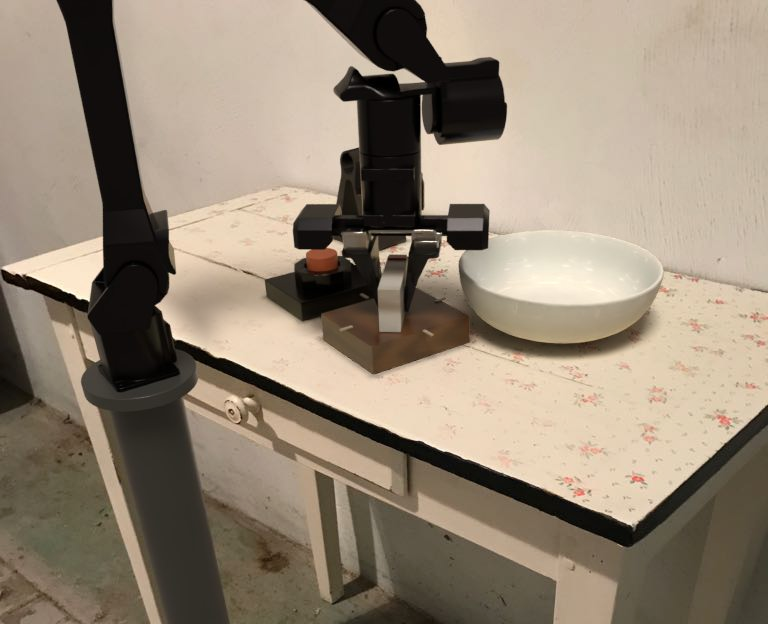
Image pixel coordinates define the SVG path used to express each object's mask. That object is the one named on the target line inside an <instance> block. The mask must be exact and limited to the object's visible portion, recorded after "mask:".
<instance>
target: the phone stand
mask: <svg viewBox="0 0 768 624" xmlns="http://www.w3.org/2000/svg"><path fill="white" fill-rule="evenodd" d="M355 162H360V155H359V146H358V147H355V148H351V149H347V150H346V149H345V150H344V151H342V152H341V154H340V156H339V165H340V180H339V184H338V191H337V198H336V203H335V204H340V207H341V210H342V215H362V196H358V195H356V194H355V191H354V174H355ZM333 240H335V241H339V242H341V243H343V240H342V236H333ZM406 241H407V236H378V247H379V251H381V250H384V249H387V248H389V247H390V248H391V247H392V246H396V245H398V244H401V243H404V242H406Z"/></svg>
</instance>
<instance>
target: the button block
mask: <svg viewBox="0 0 768 624" xmlns="http://www.w3.org/2000/svg"><path fill="white" fill-rule="evenodd" d="M337 258H338V267H337V268H336V269H333V270H329V271H311V270H308V269H307V262H306V257H303V258H301V259H299V260H298V261H296V262H295V263H294V267H293V271H292V272H288V273H284V274H280V275H276V276H273V277H269V278H265V279H264V287H265V295H266V296H265V297H266V298H267V299H268V300H270V301H271V302H273V303H275V304H276V305H278V306H279V307H281V308H282V309H284V310H285V311H286V312H288V313H289V314H290V315H293V316H294V317H295V318H297V319H298V320H300V321H301V322H306V321H310V320H314V319H317V318H320V317H321V314H322V313H325V312H329V311H332V310H336V309H339V308H342V307H346V306H349V305H353V304H356V303H360V302H363V301H367V300H370V299H374V298H373V295H372V293H371V291H370V289H369V287H368V285H367V283H366V281H365V279H364V277H363V276H362V274H361V273H360V271H359V269H358V268H357V266H356V265H355V263H354V262H351V260H350V259H349V258H344V257H342V255H337ZM362 293H363V294H365V295H366V296H368V297H369V299H365V298H364V297H362V296H360V294H362Z"/></svg>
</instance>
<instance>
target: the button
mask: <svg viewBox="0 0 768 624" xmlns="http://www.w3.org/2000/svg"><path fill="white" fill-rule="evenodd" d="M337 256H338V251H337V250H336V249H334V248H330V247H327V248H326V249H325V250H308V251H306V253H305V258H306V262H307V269H308V270H311V271H329V270H333V269H336V268H337V267H338V258H337Z"/></svg>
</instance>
